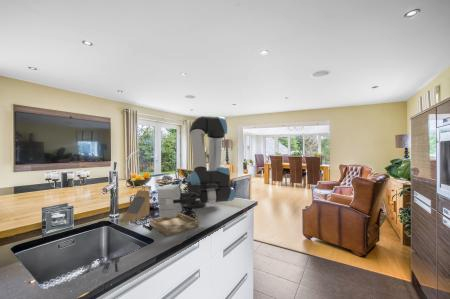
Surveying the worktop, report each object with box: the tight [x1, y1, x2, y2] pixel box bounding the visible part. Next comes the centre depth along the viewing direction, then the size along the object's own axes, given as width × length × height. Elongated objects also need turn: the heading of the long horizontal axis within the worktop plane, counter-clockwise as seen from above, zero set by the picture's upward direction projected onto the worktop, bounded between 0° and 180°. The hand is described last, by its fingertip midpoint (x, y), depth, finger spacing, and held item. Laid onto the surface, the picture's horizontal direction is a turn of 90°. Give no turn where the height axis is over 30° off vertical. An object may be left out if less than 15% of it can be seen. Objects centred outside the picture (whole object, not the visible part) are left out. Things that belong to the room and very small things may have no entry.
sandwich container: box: [121, 189, 150, 223], centre depth 127 cm, size 9×15×15 cm, turn 163°
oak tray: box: [149, 212, 200, 237], centre depth 111 cm, size 18×20×3 cm
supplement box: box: [156, 184, 183, 218], centre depth 110 cm, size 9×9×15 cm
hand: (165, 199), depth 109 cm, fingers closed on supplement box, 11 cm apart
